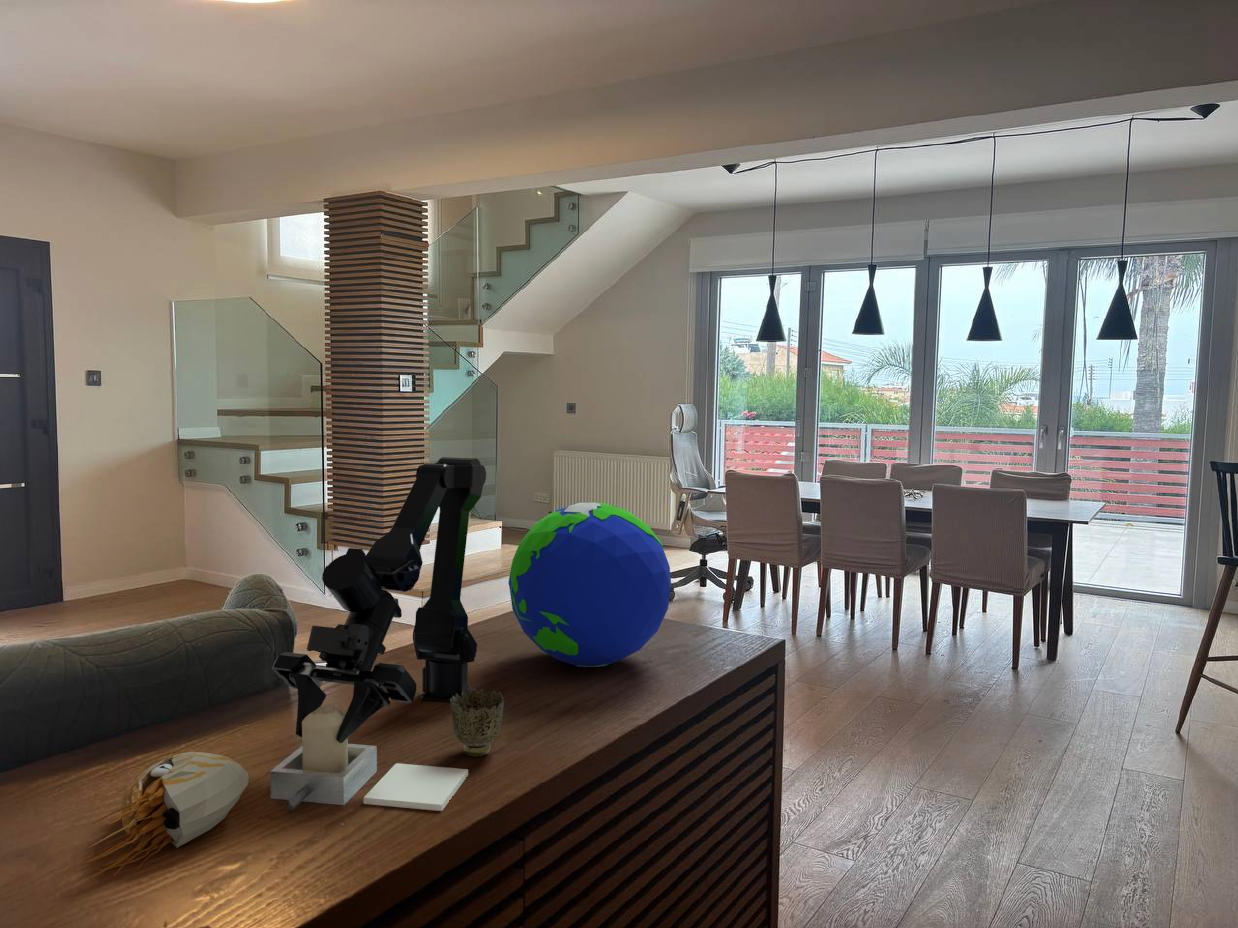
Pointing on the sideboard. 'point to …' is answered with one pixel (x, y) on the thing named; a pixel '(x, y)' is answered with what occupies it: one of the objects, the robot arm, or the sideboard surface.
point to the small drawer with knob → (322, 778)
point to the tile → (416, 787)
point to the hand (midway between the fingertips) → (318, 738)
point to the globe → (590, 584)
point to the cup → (477, 720)
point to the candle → (324, 741)
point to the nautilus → (177, 801)
